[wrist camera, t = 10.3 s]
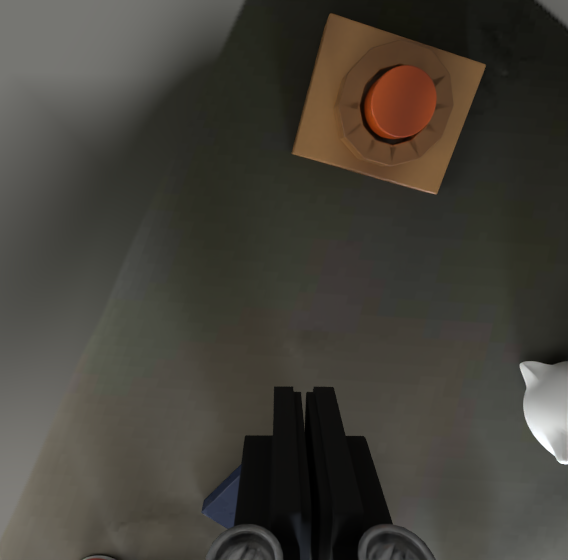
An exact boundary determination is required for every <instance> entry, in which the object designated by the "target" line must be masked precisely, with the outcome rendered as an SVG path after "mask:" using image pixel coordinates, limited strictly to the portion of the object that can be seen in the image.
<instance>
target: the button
mask: <svg viewBox="0 0 568 560" xmlns="http://www.w3.org/2000/svg"><path fill="white" fill-rule="evenodd" d="M436 101H437V95H436V89H435V85H434V83H433V81H432V79H431V78H430V76H429V75H428V74H427V73H426V72H425V71H424V70H422V69H420V68H418V67H416V66H412V65H401V66H397V67H395V68H392V69H391V70H389V71H387V72H386V73H385V74H384V75H382V76H381V77H380V78H379V79H377V80H376V81H375V82H374V83H373V85H372V86H371V87H370V89H369V91H368V93H367V95H366V98H365V103H364V114H365V119H366V121H367V124H368V125H369V127H370V128H371V130H372V131H373V132H374V133H376V134H377V135H378V136H380V137H383V138H386V139H399V138H404V137H409V136H412V135H414V134H416V133H418V132H419V131H421V130H422V129H423V128H424V127H425V126H426V125H427V124H428V122H429V121H430V120H431V118H432V116H433V114H434V111H435V107H436Z"/></svg>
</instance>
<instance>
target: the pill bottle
mask: <svg viewBox="0 0 568 560" xmlns="http://www.w3.org/2000/svg"><path fill="white" fill-rule="evenodd" d="M82 560H115V559H114V558H111V557H107V556H100V555H98V556H90V557H87V558H84V559H82Z"/></svg>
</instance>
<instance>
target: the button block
mask: <svg viewBox="0 0 568 560" xmlns="http://www.w3.org/2000/svg"><path fill="white" fill-rule="evenodd" d="M401 65H412V66H416V67H418V68H420V69H422V70H424V71H425V72H426V73H427V74H428V75H429V76H430V78H431V79H432V81H433V83H434V85H435V89H436V95H437V101H436V107H435V111H434V114H433V116H432V118H431V120H430V121H429V122H428V124H427V125H426V126H425V127H424V128H423V129H422V130H421V131H419V132H418V133H416V134H414V135H412V136H409V137H404V138H399V139H386V138H383V137H380V136H378V135H377V134H376V133H374V132H373V131H372V130H371V128H370V127H369V125H368V124H367V121H366V119H365V114H364V103H365V98H366V95H367V93H368V91H369V89H370V87H371V86H372V85H373V83H374V82H375V81H376V80H377V79H379V78H380V77H381V76H382V75H384V74H385V73H386V72H387V71H389V70H391V69H392V68H395V67H397V66H401ZM485 67H486V65H485V64H483V63H480V62H477V61H474V60H471V59H468V58H465V57H462V56H459V55H456V54H453V53H450V52H447V51H444V50H441V49H438V48H435V47H432V46H429V45H426V44H423V43H420V42H417V41H414V40H411V39H408V38H405V37H402V36H399V35H396V34H392V33H389V32H386V31H383V30H380V29H377V28H374V27H371V26H368V25H365V24H362V23H359V22H356V21H353V20H350V19H347V18H344V17H341V16H338V15H335V14H332V13H330V14H329V16H328V19H327V22H326V24H325V27H324V31H323V35H322V38H321V42H320V46H319V50H318V54H317V57H316V61H315V65H314V69H313V73H312V77H311V80H310V84H309V88H308V92H307V96H306V99H305V103H304V107H303V111H302V115H301V118H300V122H299V126H298V130H297V134H296V137H295V141H294V145H293V149H292V154H293V155H297V156H300V157H304V158H307V159H311V160H314V161H318V162H321V163H325V164H328V165H332V166H335V167H339V168H342V169H346V170H349V171H353V172H356V173H360V174H363V175H366V176H370V177H373V178H377V179H380V180H384V181H387V182H391V183H394V184H398V185H401V186H405V187H408V188H412V189H415V190H419V191H422V192H426V193H431V194H437V193H438V190H439V187H440V185H441V182H442V180H443V177H444V174H445V172H446V169H447V166H448V164H449V161H450V159H451V156H452V153H453V151H454V148H455V145H456V143H457V140H458V138H459V135H460V132H461V130H462V127H463V125H464V122H465V119H466V117H467V114H468V111H469V109H470V106H471V104H472V101H473V98H474V96H475V93H476V90H477V88H478V85H479V83H480V80H481V77H482V75H483V72H484V70H485Z"/></svg>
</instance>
